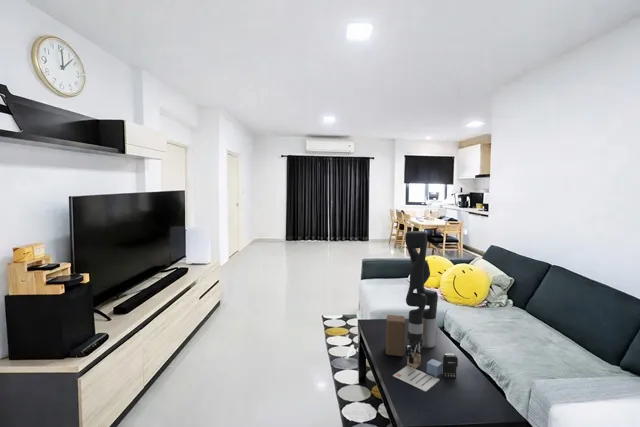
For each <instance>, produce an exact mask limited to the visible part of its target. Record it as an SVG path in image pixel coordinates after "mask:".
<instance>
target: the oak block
mask: <svg viewBox="0 0 640 427" xmlns="http://www.w3.org/2000/svg"><path fill="white" fill-rule="evenodd" d="M411 353H412V352H411ZM406 357H407V358H406V359H407V361H406V362H407V363H406V366H407V365H408V366H411V367H412V368H414V369H418V368H419V367H420V366H421V362H422V361H421V360H422V354H420V353H419V354H418V353H414V356H413V364H411V363H409V357H408V356H406Z"/></svg>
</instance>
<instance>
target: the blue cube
mask: <svg viewBox="0 0 640 427" xmlns="http://www.w3.org/2000/svg"><path fill="white" fill-rule="evenodd" d="M426 374H428V375H431V376H433V377H435V378H438V377H440V376H441V375H442V361H438V360H436V359H433V358H431V359H430V360H428V361H427V362H426Z"/></svg>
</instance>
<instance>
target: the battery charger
mask: <svg viewBox="0 0 640 427" xmlns="http://www.w3.org/2000/svg"><path fill="white" fill-rule="evenodd" d="M441 362H442V373H441V375H442V377H443V378H445V379H456V378H457V368H458V366H459V359H458V356H457V355H456V354H455V353H444V354H443V355H442V360H441Z"/></svg>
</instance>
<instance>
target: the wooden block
mask: <svg viewBox="0 0 640 427" xmlns="http://www.w3.org/2000/svg"><path fill="white" fill-rule="evenodd" d="M405 335H406V318H405V316H404V315H395V314H387V315H386V333H385V355H388V356H397V357H404V356H405Z"/></svg>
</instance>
